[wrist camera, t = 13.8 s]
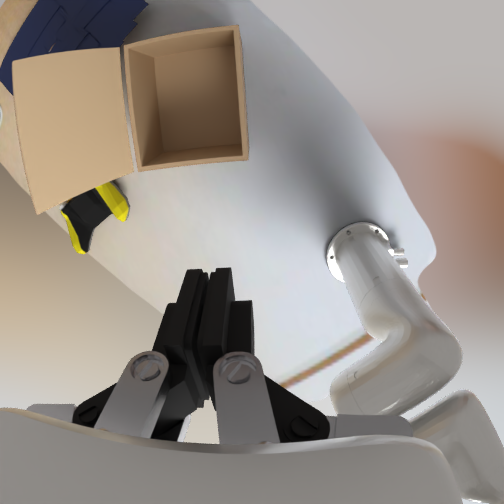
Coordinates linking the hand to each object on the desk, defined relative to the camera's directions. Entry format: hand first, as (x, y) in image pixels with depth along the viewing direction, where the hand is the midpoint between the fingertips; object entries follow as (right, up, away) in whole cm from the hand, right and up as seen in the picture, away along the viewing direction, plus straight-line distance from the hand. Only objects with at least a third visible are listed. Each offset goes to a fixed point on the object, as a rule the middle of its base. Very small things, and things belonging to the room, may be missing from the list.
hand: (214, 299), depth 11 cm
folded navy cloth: (-32, +38, +22) cm, 54 cm away
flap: (-17, +16, +14) cm, 27 cm away
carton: (-7, +25, +28) cm, 39 cm away
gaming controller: (-27, +10, +37) cm, 47 cm away
